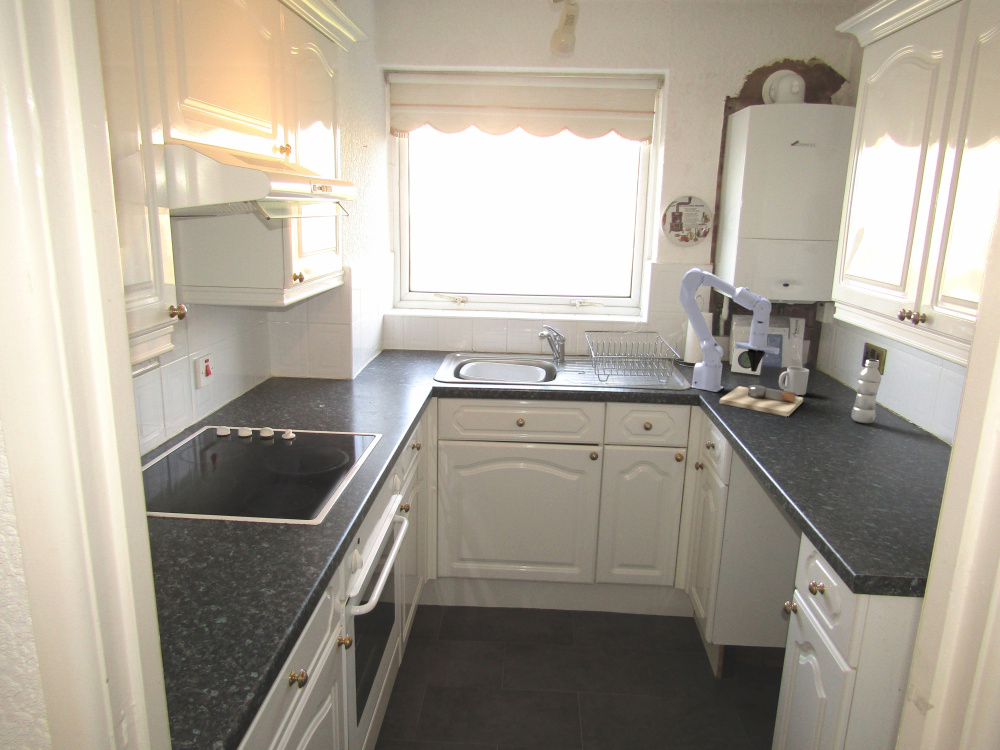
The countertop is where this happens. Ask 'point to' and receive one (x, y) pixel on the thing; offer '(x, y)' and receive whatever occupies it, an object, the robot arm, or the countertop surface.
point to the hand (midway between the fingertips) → (753, 371)
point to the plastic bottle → (867, 392)
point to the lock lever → (770, 393)
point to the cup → (795, 380)
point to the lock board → (759, 402)
